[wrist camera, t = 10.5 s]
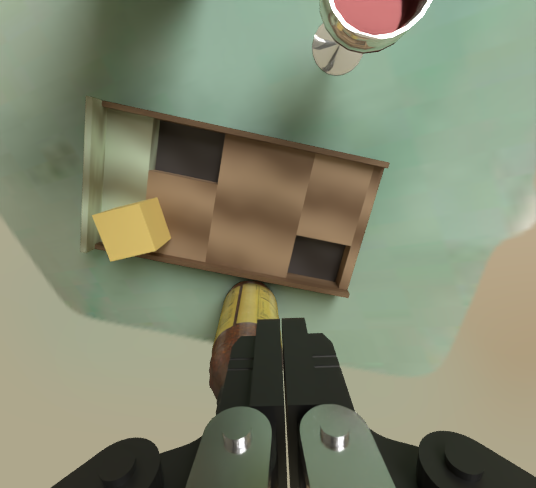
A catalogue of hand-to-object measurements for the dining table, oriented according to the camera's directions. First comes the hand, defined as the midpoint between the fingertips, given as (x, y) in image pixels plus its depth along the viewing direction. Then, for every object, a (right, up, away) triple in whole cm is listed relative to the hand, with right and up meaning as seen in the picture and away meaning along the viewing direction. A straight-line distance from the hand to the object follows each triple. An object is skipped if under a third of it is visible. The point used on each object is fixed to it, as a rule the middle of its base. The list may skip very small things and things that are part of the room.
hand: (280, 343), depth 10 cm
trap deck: (-4, +8, +24) cm, 25 cm away
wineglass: (+6, +22, +19) cm, 30 cm away
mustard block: (-13, +5, +22) cm, 27 cm away
